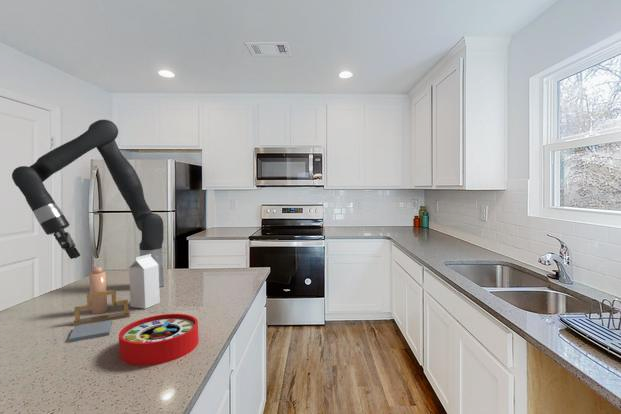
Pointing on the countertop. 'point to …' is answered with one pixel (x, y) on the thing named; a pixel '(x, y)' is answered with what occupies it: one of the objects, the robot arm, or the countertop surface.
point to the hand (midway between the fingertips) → (76, 257)
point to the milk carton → (144, 282)
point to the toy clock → (158, 339)
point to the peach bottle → (98, 290)
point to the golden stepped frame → (103, 317)
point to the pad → (90, 331)
